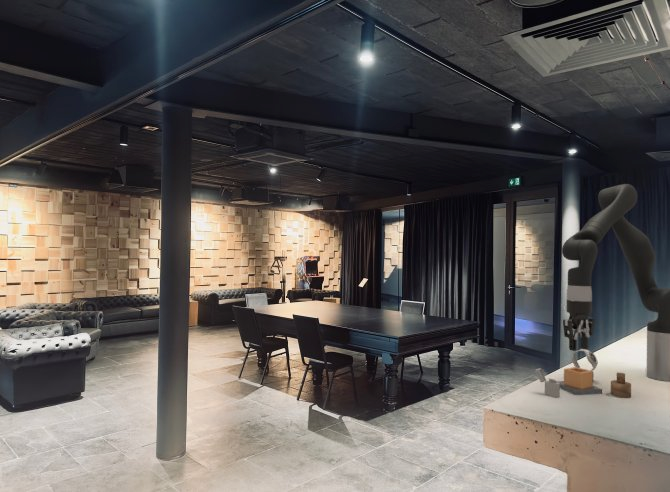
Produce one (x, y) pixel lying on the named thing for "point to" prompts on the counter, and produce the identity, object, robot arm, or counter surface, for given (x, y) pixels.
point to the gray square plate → (580, 391)
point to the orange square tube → (578, 377)
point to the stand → (621, 387)
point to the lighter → (549, 385)
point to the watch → (590, 358)
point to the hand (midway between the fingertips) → (578, 349)
